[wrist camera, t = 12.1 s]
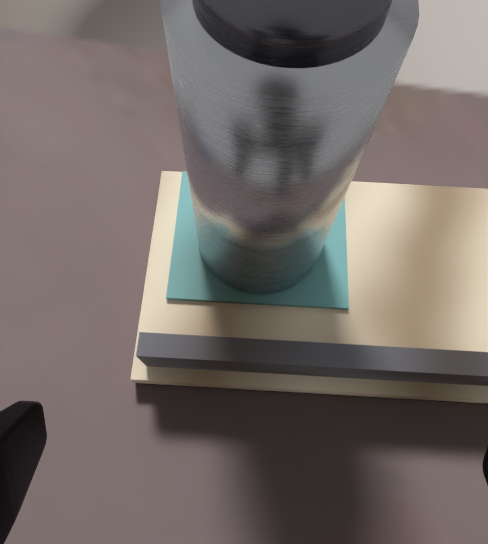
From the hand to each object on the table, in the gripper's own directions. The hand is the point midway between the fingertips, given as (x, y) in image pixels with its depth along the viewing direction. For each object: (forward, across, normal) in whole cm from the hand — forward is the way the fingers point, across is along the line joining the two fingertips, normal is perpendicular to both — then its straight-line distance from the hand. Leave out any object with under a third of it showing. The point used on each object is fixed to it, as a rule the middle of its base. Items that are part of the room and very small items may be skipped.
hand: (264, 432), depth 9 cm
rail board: (+10, -7, +1) cm, 12 cm away
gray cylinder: (+10, 0, -1) cm, 10 cm away
